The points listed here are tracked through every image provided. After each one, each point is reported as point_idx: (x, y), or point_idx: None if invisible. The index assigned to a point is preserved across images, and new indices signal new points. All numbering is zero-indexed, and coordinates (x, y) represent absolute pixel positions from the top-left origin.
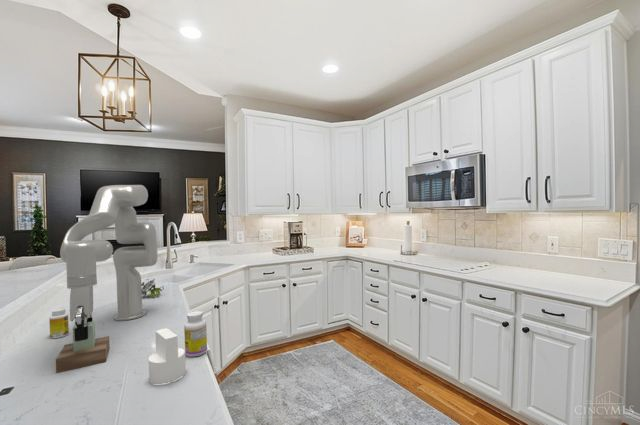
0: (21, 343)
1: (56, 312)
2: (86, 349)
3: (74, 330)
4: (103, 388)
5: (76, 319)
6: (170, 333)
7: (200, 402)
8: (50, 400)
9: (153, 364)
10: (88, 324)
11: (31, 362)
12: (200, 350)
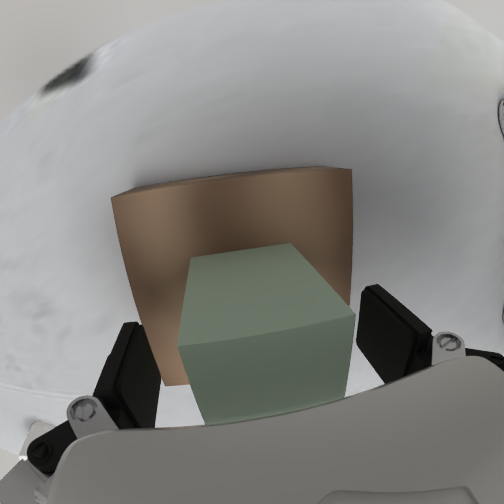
0: (488, 37)
1: None
2: None
3: (101, 377)
4: (14, 359)
5: (6, 477)
6: None
7: (6, 443)
8: None
9: (20, 453)
10: (264, 416)
11: (331, 46)
12: None
